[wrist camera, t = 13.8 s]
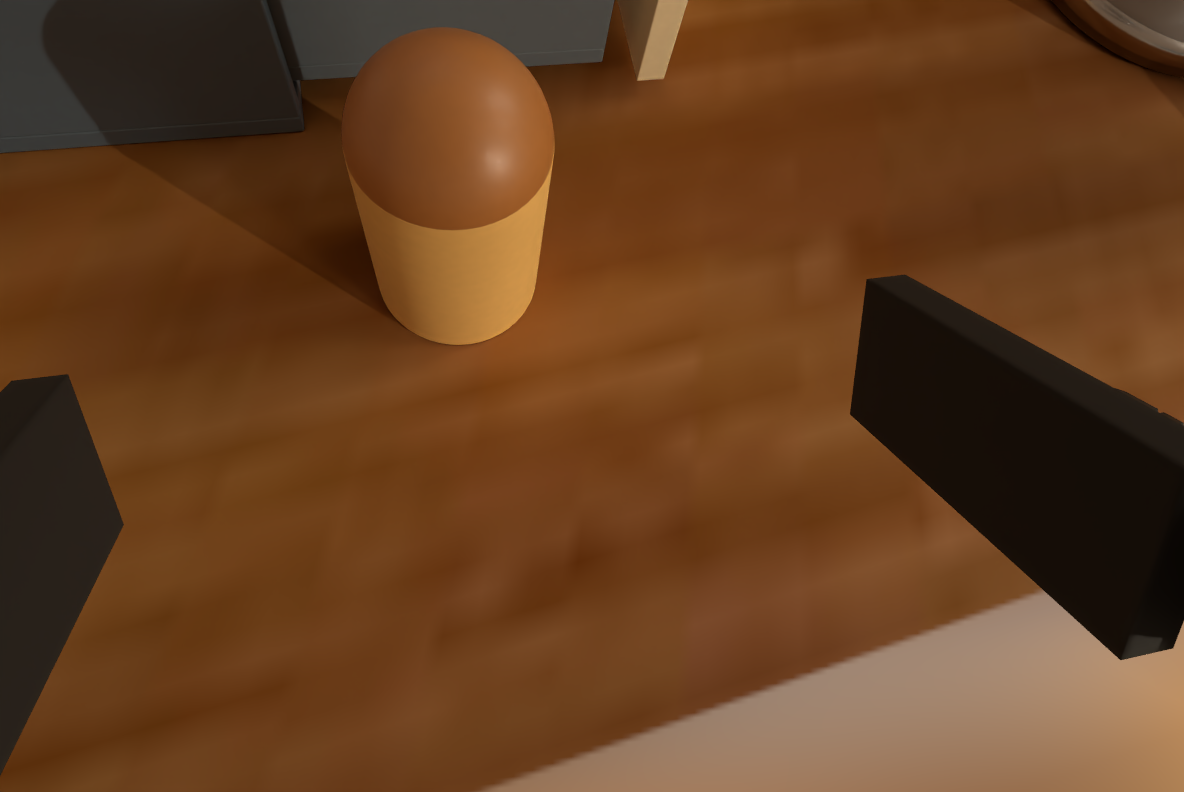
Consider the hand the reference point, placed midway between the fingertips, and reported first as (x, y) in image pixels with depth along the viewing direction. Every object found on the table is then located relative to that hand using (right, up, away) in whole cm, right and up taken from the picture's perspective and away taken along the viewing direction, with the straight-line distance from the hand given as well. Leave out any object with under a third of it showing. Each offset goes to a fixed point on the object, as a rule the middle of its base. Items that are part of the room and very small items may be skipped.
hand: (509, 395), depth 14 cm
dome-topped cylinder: (-4, +5, +17) cm, 18 cm away
